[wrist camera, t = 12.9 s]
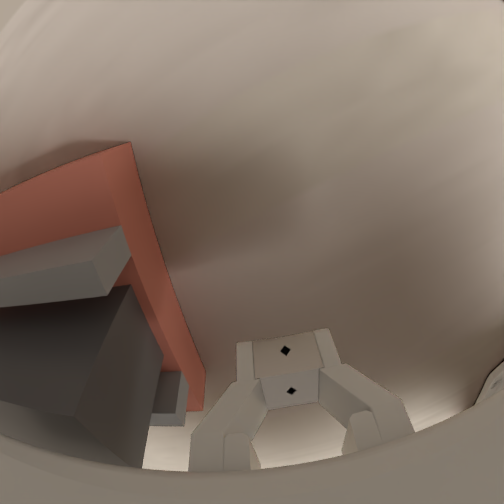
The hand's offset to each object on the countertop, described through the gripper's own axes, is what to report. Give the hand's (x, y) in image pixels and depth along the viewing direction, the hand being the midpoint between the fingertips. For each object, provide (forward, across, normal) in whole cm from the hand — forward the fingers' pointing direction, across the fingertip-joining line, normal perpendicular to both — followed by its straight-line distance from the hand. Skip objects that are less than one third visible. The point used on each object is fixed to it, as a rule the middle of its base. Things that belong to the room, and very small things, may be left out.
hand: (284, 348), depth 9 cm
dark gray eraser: (+2, +10, 0) cm, 10 cm away
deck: (+5, +13, 0) cm, 14 cm away
